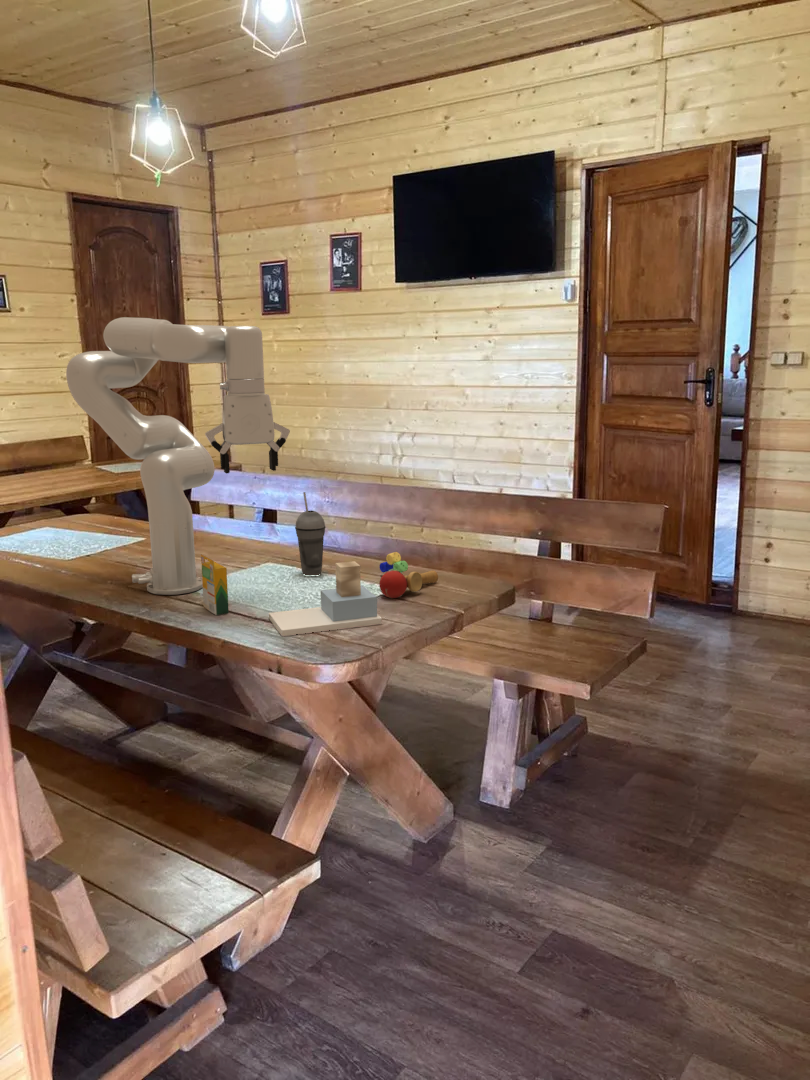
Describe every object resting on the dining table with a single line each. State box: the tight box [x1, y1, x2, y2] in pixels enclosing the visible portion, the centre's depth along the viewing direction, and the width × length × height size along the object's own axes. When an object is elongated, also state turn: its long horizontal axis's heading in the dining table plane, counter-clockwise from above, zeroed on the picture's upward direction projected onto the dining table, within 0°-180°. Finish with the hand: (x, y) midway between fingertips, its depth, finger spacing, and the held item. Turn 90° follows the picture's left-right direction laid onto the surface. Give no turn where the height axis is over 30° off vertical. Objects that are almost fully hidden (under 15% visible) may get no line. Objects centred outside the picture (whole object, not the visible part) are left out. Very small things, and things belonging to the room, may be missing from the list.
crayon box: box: [200, 553, 230, 616], centre depth 181 cm, size 7×3×12 cm, turn 33°
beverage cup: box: [294, 491, 327, 575], centre depth 208 cm, size 7×7×20 cm
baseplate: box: [268, 585, 383, 637], centre depth 173 cm, size 20×12×5 cm, turn 111°
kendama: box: [378, 570, 439, 599], centre depth 195 cm, size 8×6×18 cm
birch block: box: [335, 560, 362, 597], centre depth 174 cm, size 4×4×6 cm
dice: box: [379, 551, 409, 574], centre depth 205 cm, size 8×3×6 cm, turn 41°
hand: (250, 471), depth 182 cm, fingers open, 9 cm apart
